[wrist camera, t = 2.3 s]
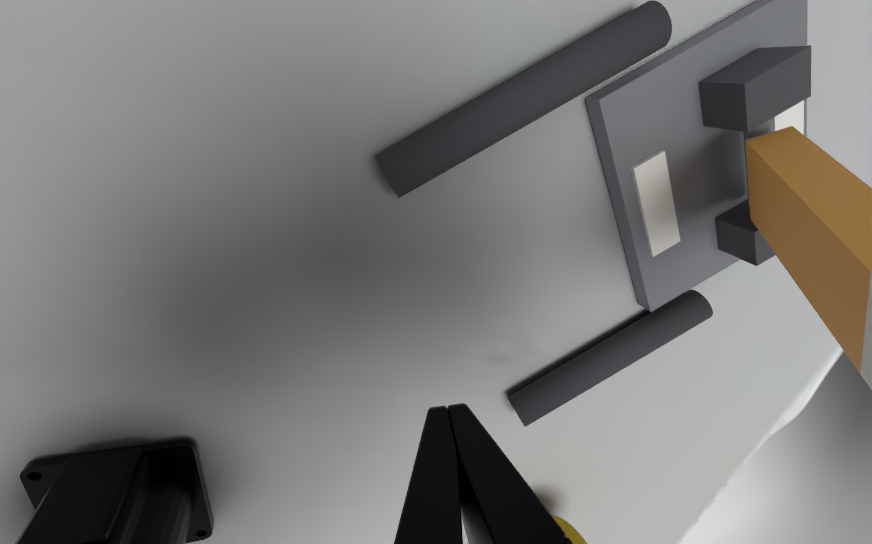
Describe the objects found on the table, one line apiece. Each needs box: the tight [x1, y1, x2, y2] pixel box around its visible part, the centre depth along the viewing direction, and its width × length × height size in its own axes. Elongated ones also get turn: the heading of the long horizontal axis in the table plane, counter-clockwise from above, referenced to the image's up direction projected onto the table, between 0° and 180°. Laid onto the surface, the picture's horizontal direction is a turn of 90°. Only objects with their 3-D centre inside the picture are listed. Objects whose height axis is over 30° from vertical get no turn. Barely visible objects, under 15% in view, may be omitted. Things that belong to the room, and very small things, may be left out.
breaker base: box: [585, 0, 811, 312], centre depth 20 cm, size 10×12×3 cm
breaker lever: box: [743, 119, 872, 389], centre depth 15 cm, size 2×4×13 cm
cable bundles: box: [375, 1, 713, 427], centre depth 20 cm, size 12×17×2 cm
